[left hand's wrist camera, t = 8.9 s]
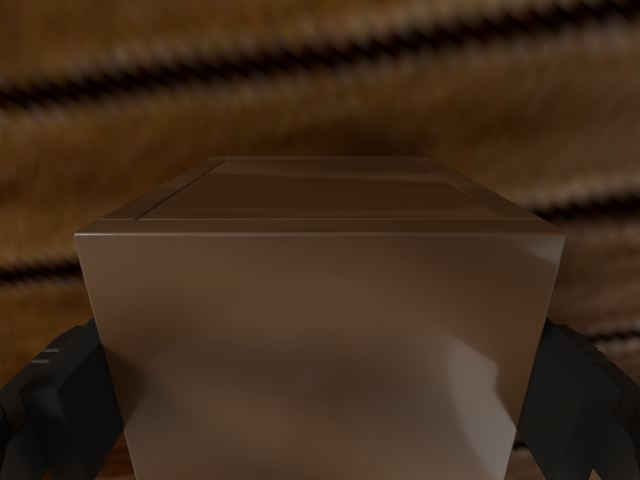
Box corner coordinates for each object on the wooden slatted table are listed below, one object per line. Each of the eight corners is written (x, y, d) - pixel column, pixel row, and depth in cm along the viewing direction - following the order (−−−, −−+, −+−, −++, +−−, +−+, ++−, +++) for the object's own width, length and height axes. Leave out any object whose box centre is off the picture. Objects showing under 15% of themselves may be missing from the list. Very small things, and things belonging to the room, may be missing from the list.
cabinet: (396, 458, 25) (447, 703, 15) (244, 458, 25) (193, 702, 15) (427, 155, 17) (570, 232, 7) (212, 155, 17) (70, 232, 7)
